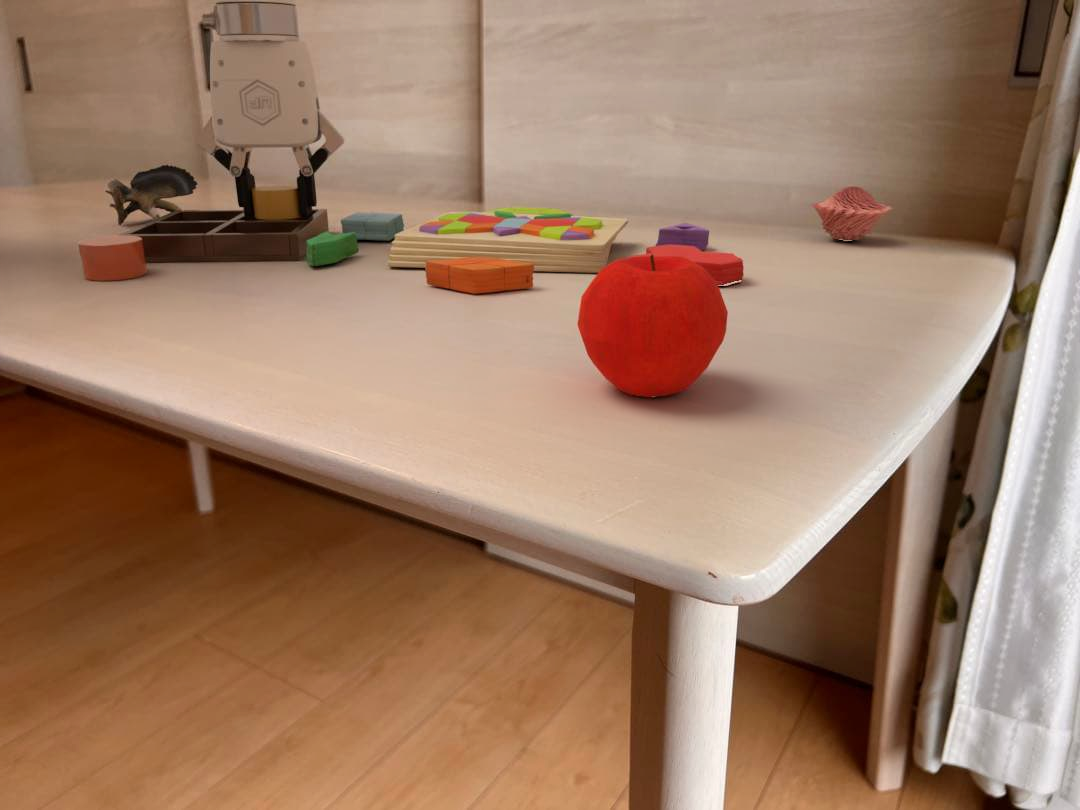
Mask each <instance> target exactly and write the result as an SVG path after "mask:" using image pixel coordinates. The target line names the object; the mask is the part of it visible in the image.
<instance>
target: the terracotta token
mask: <svg viewBox="0 0 1080 810" xmlns="http://www.w3.org/2000/svg"><path fill="white" fill-rule="evenodd" d="M119 235H120V234H119ZM77 246H78V250H79V251H78V252H79V256H80V261H81V265H82V266H81V267H82V272H83V277H84V278H85V279H86V280H89V281H95V282H96V281H97V282H112V281H122V280H123V281H124V280H129V279H136V278H139V277H142V276H145V275H147V274H148V265H147V262H146V259H145V253H144V247H143V240H142V238H141V237H138V236H126V235H120V236H117V235H104V236H96V237H90V238H85V239H82V240H80V241H78V242H77Z"/></svg>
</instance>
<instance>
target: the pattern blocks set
mask: <svg viewBox="0 0 1080 810" xmlns="http://www.w3.org/2000/svg"><path fill="white" fill-rule="evenodd" d="M628 223H629V219H628V218H625V217H624V218H623V217H604V216H583V215H581V216H579V215H574V214H573V213H570V212H567V211H564V210H561V209H559V208H555V207H553V208H552V207H520V206H519V207H518V206H517V207H515V206H508V207H503V208H497V209H493V210H487V211H482V212H481V211H447V212H444V213H441V214H439V215H437V216H435V217H431V218H430V219H427V220H426V221H423V222H421V223H418V224H416V225H414V226H411V227H408V228H406V229H404V228H405V223H404V219H403V214H402V213H392V212H391V213H387V212H369V211H368V212H366V211H357V212H355V213H353V214H350V215H348V216H346V217H343V218H341V219H340V224H341V231H342V233H339V234H333V233H331V231H330V230H329V231H327V232H324V233H322V234H319V235H318V236H316V237H314V238H311V239H309V240H307V241H306V244H307V254H306V262H307V263H308V264H309V265H310V266H311V267H319V266H324V265H330V264H331V265H332V264H336V263H338V262H340V261H342V260H344V259H346V258H347V257H352V256H353V255H355V254H358V253H359V252H360V248H359V244H358V240H366V241H385V242H388V241H391V240H392V239H394V240H393V241H391V247H390V248H389V254H388V261H387V266H388V267H391V268H414V269H415V268H417V269H425V270H424V271H425V278H426V284H427V285H428V286H434V287H439V288H444V289H450V290H453V291H457V292H463V293H469V294H474V295H475V294H476V295H477V294H486V293H499V292H503V291H504V292H505V291H515V290H524V289H526V290H527V289H532V288H533V286H534V272H547V273H548V272H551V273H553V272H554V273H555V272H556V273H560V272H561V273H590V274H592V273H593V274H598V273H599V272H600V270H601V269H602V268H603V267H605V266H607V265H608V260H609V255H610V252H611V247H612V245H613V243H614V242H615V240H616V238H617V236H618V235H619V234H620V233H621V232H622V231H623V229H624V228H625V227H626V226H627V225H628ZM709 237H710V230H709V229H706V228H703V227H702V226H698V225H694V224H691V223H687V222H683V223H680V224H679V223H678V224H675V225H671V226H666V227H662V228H659V230H658V236H657V241H656V243H655V245H653V246H647V247H645V253H641V254H635V255H634V254H633V255H631V256H629V258H631V257H640V256H648V257H650V256H651V255H652V254H653V256H654V257H663V256H680V257H684V258H686V259H688V260H691V261H693V262H695V263H697V264H698V265H700V266H702V267H703V268H704V269H706V270H707V271H708V273H709V274H710V275H711V276H712V278H713V279H714V280H715V281H716V283H717V284H718V285H724V284H727V283H731V282H734V281H739V280H742V281H743V277H744V276H745V274H744V261H743V259H742V258H741V257H739V256H737V255H736V254H734V253H730V252H721V251H720V252H718V251H707V250H708V245H709Z"/></svg>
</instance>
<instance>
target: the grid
mask: <svg viewBox="0 0 1080 810" xmlns="http://www.w3.org/2000/svg"><path fill="white" fill-rule="evenodd" d="M182 210H183V211H182ZM182 210H176V211H173V212H169V213H166V214H164V215H162V216H160V217H159V218H157V219H155V220H154V219H152V220H150V221H148V222H145V223H143V224H140V225H138V226H136V227H134V228H132V229H129V230H127V231H125V232H122V233H119V234H117V235H116V236H120V235H126V236H138V237H141V238H142V240H143V247H144V253H145V259H146V263H199V262H200V263H202V262H203V263H204V262H206V263H209V262H211V263H212V262H214V263H215V262H281V261H282V262H285V261H290V262H292V261H293V262H294V261H301V260H302V259H303V258H304V257H305V256H307V244H306V241H307V240H309V239H311V238H314V237H316V236H318V235H319V234H322V233H324V232H327V231H329V232H330V227H329V218H328V216H329V215H328V209H327V208H312V213H310V214H309V215H308V216H302V217H300V218H295V219H287V220H261V219H256V218H255V217H254V214H253V215H252V216H245V215H244V209H182Z"/></svg>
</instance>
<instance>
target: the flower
mask: <svg viewBox="0 0 1080 810" xmlns="http://www.w3.org/2000/svg"><path fill="white" fill-rule="evenodd" d="M875 199H876V198H875V197H873V194H872V193H869V191H868V190H866V189H864V188H863V187H860V186H848V187H847V186H846V187H844V188H841V189H840V190H837V191H836V192H834V194H833V195H832V196H831V197H829V198H828V199H826V200H824V201H822V202H819V201H817V202H815V203H810V205H811V207H812V208H814V210H815V212H817V214H818V216H819V218H820V219H821V220H822V223H821V225H822V229H823V230H825V233H826V234H829V237H832V239H833V240H839V239H843V240H857V241H859V240H860V239H864V238H865V237H866V235H869V234H871V232H872V228H873V227H875V226H876V225H877V223H878V222H879V220H880V219H881V218H882V217H883V216H884V215H885V214H886V213H888V212H890V211H891V210H893V209H894V208H893V207H892V206H891V205H885V204H880V203H879V202H877V201H876V200H875Z"/></svg>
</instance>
